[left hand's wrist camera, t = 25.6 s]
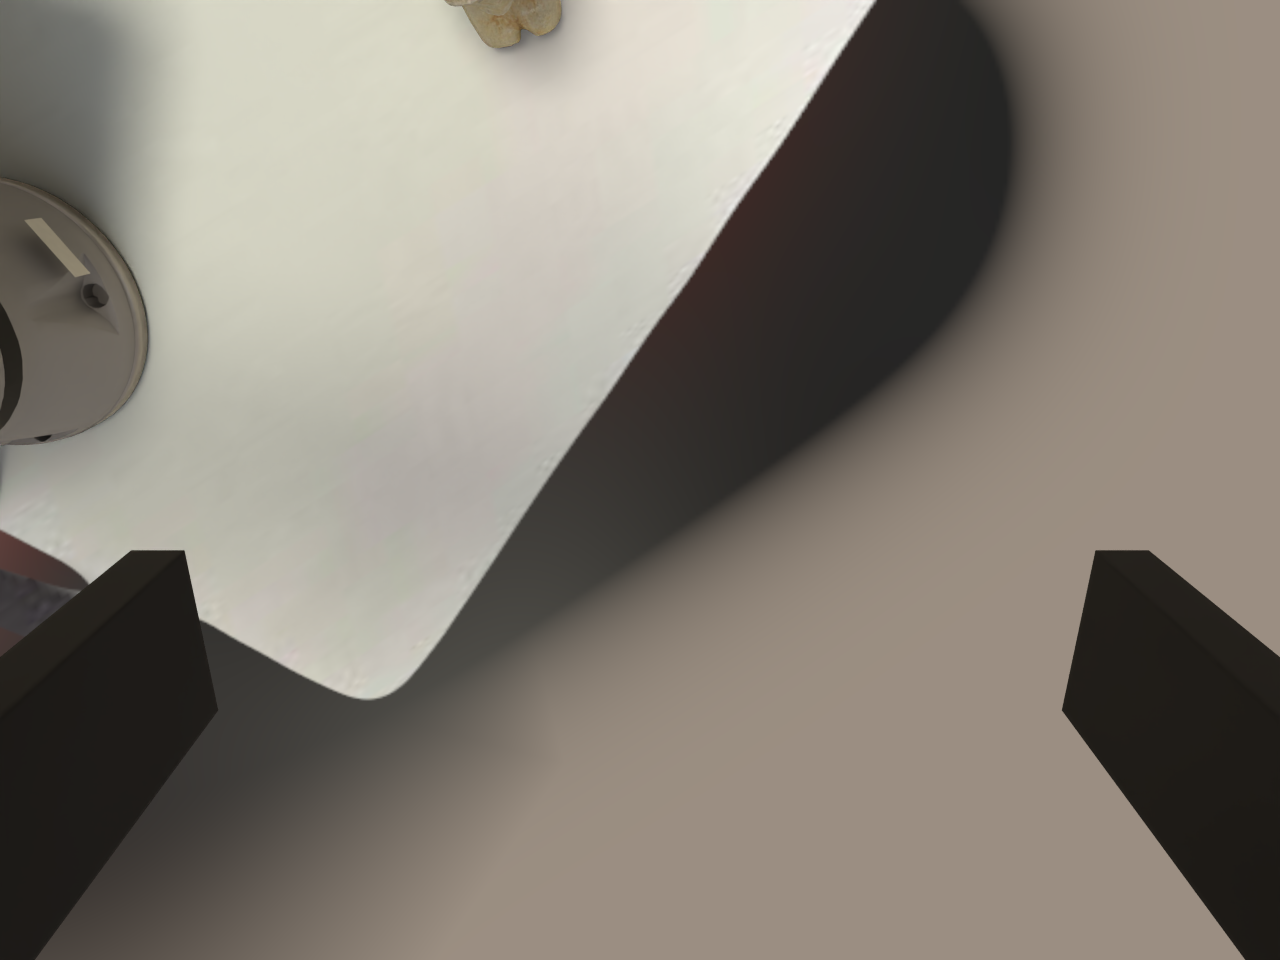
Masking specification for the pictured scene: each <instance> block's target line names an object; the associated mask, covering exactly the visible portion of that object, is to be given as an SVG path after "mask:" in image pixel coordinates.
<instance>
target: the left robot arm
mask: <svg viewBox="0 0 1280 960" xmlns="http://www.w3.org/2000/svg"><path fill="white" fill-rule="evenodd" d="M146 353H147V323H146V317H145V311H144V307H143V304H142V300H141V297H140V294H139V291H138V289H137V286H136V284H135V281H134V279H133V277H132V275H131V273H130V271H129V269H128V268H127V266H126V264H125V263H124V261H123V259H122V258H121V256H120V255H119V253H118V252H117V251H116V249H115V248H114V247H113V245H112V244H111V243H110V242H109V240H108V239H107V238H106V237H105V236H104V235H103V234H102V233H101V232H100V231H99V229H98V228H97V227H96V226H95V225H94V224H92V223H91V222H90V221H89V220H88V219H87V218H86V217H85V216H83V215H82V214H81V213H79V212H78V211H77V210H75V209H74V208H73V207H71V206H70V205H68V204H67V203H65V202H64V201H62V200H60V199H59V198H57V197H55V196H53V195H51V194H49V193H47V192H46V191H43V190H41V189H39V188H36V187H34V186H31V185H28V184H25V183H22V182H19V181H15V180H11V179H6V178H0V446H1V445H5V444H10V445H30V444H41V443H48V442H52V441H57V440H60V439H63V438H67V437H71V436H74V435H76V434H79V433H81V432H83V431H85V430H87V429H89V428H91V427H93V426H95V425H97V424H98V423H100V422H102V421H104V420H105V419H107V418H108V417H110V416H111V415H113V414H114V413H115V412H116V411H117V410H118V409H119V408H121V406H122V405H123V404H124V403H125V402H126V401H127V400H128V398H129V397H130V395H131V394H132V392H133V391H134V389H135V387H136V385H137V383H138V381H139V379H140V376H141V374H142V371H143V368H144V364H145V360H146ZM217 711H218V708H217V703H216V698H215V693H214V689H213V684H212V679H211V674H210V670H209V665H208V660H207V655H206V651H205V646H204V641H203V636H202V632H201V627H200V622H199V617H198V613H197V608H196V603H195V598H194V594H193V589H192V584H191V579H190V575H189V570H188V565H187V560H186V556H185V551H184V550H131V551H130V552H129V553H128V554H126V555H125V556H124V557H123V558H121V559H120V560H119V561H118V562H116V563H115V564H114V565H113V566H112V567H110V568H109V569H108V570H107V571H105V572H104V573H103V574H102V575H101V576H99V577H98V578H97V579H96V580H94V581H93V582H92V583H91V584H89V585H88V586H87V587H86V588H85V589H83V590H82V591H81V592H80V593H78V594H77V595H76V596H75V597H73V598H72V599H71V600H70V601H69V602H67V603H66V604H65V605H64V606H62V607H61V608H60V609H59V610H58V611H56V612H55V613H54V614H53V615H51V616H50V617H49V618H48V619H46V620H45V621H44V622H43V623H42V624H40V625H39V626H38V627H37V628H35V629H34V630H33V631H32V632H31V633H29V634H28V635H27V636H26V637H24V638H23V639H22V640H21V641H20V642H18V643H17V644H16V645H15V646H13V647H12V648H11V649H10V650H8V651H7V652H6V653H5V654H3V655H2V656H1V657H0V960H35V959H36V957H37V956H38V955H39V953H40V952H41V950H42V949H43V948H44V946H45V945H46V944H47V942H48V941H49V940H50V938H51V937H52V936H53V934H54V933H55V931H56V930H57V929H58V927H59V926H60V925H61V923H62V922H63V921H64V919H65V918H66V917H67V915H68V914H69V912H70V911H71V910H72V908H73V907H74V906H75V904H76V903H77V902H78V900H79V899H80V897H81V896H82V895H83V893H84V892H85V891H86V889H87V888H88V887H89V885H90V884H91V882H92V881H93V880H94V878H95V877H96V876H97V874H98V873H99V872H100V870H101V869H102V867H103V866H104V865H105V863H106V862H107V861H108V859H109V858H110V857H111V855H112V854H113V853H114V851H115V850H116V848H117V847H118V846H119V844H120V843H121V842H122V840H123V839H124V838H125V836H126V835H127V834H128V832H129V831H130V829H131V828H132V827H133V825H134V824H135V823H136V821H137V820H138V819H139V817H140V816H141V814H142V813H143V812H144V810H145V809H146V808H147V806H148V805H149V804H150V802H151V801H152V799H153V798H154V797H155V795H156V794H157V793H158V791H159V790H160V789H161V787H162V786H163V785H164V783H165V782H166V780H167V779H168V778H169V776H170V775H171V774H172V772H173V771H174V769H175V768H176V767H177V765H178V764H179V763H180V761H181V760H182V759H183V757H184V756H185V755H186V753H187V752H188V751H189V749H190V748H191V746H192V745H193V744H194V742H195V741H196V740H197V738H198V737H199V736H200V734H201V733H202V731H203V730H204V729H205V727H206V726H207V725H208V723H209V722H210V721H211V719H212V718H213V717H214V715H215V714H216V712H217ZM1062 711H1063V712H1064V714H1065V715H1066V716H1067V718H1068V719H1069V721H1070V722H1071V723H1072V725H1073V726H1074V727H1075V729H1076V730H1077V731H1078V733H1079V734H1080V735H1081V737H1082V738H1083V740H1084V741H1085V742H1086V744H1087V745H1088V746H1089V748H1090V749H1091V751H1092V752H1093V753H1094V755H1095V756H1096V757H1097V759H1098V760H1099V761H1100V763H1101V764H1102V765H1103V767H1104V768H1105V770H1106V771H1107V772H1108V774H1109V775H1110V776H1111V778H1112V779H1113V780H1114V782H1115V783H1116V785H1117V786H1118V787H1119V789H1120V790H1121V791H1122V793H1123V794H1124V795H1125V797H1126V798H1127V800H1128V801H1129V802H1130V804H1131V805H1132V806H1133V808H1134V809H1135V810H1136V812H1137V813H1138V814H1139V816H1140V817H1141V819H1142V820H1143V821H1144V823H1145V824H1146V825H1147V827H1148V828H1149V829H1150V831H1151V832H1152V833H1153V835H1154V836H1155V838H1156V839H1157V840H1158V842H1159V843H1160V844H1161V846H1162V847H1163V848H1164V850H1165V851H1166V853H1167V854H1168V855H1169V857H1170V858H1171V859H1172V861H1173V862H1174V863H1175V865H1176V866H1177V868H1178V869H1179V870H1180V872H1181V873H1182V874H1183V876H1184V877H1185V878H1186V880H1187V881H1188V882H1189V884H1190V885H1191V887H1192V888H1193V889H1194V891H1195V892H1196V893H1197V895H1198V896H1199V897H1200V899H1201V900H1202V901H1203V903H1204V904H1205V906H1206V907H1207V908H1208V910H1209V911H1210V912H1211V914H1212V915H1213V916H1214V918H1215V919H1216V921H1217V922H1218V923H1219V925H1220V926H1221V927H1222V929H1223V930H1224V931H1225V933H1226V934H1227V936H1228V937H1229V938H1230V940H1231V941H1232V942H1233V944H1234V945H1235V946H1236V948H1237V949H1238V951H1239V952H1240V953H1241V955H1242V956H1243V957H1244V959H1245V960H1280V657H1279V656H1278V655H1277V654H1275V653H1274V652H1273V651H1272V650H1270V649H1269V648H1268V647H1267V646H1265V645H1264V644H1263V643H1262V642H1260V641H1259V640H1258V639H1257V638H1256V637H1254V636H1253V635H1252V634H1251V633H1249V632H1248V631H1247V630H1246V629H1245V628H1243V627H1242V626H1241V625H1240V624H1238V623H1237V622H1236V621H1235V620H1234V619H1232V618H1231V617H1230V616H1229V615H1227V614H1226V613H1225V612H1224V611H1222V610H1221V609H1220V608H1219V607H1218V606H1216V605H1215V604H1214V603H1213V602H1211V601H1210V600H1209V599H1208V598H1206V597H1205V596H1204V595H1203V594H1202V593H1200V592H1199V591H1198V590H1197V589H1195V588H1194V587H1193V586H1192V585H1191V584H1189V583H1188V582H1187V581H1186V580H1184V579H1183V578H1182V577H1181V576H1179V575H1178V574H1177V573H1176V572H1175V571H1173V570H1172V569H1171V568H1170V567H1168V566H1167V565H1166V564H1165V563H1164V562H1162V561H1161V560H1160V559H1159V558H1157V557H1156V556H1155V555H1154V554H1152V553H1151V552H1150V551H1148V550H1096V551H1095V556H1094V560H1093V565H1092V570H1091V575H1090V579H1089V584H1088V589H1087V594H1086V599H1085V603H1084V608H1083V613H1082V617H1081V622H1080V627H1079V632H1078V636H1077V641H1076V646H1075V651H1074V655H1073V660H1072V665H1071V670H1070V674H1069V679H1068V684H1067V689H1066V693H1065V698H1064V703H1063V708H1062Z"/></svg>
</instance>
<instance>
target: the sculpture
mask: <svg viewBox="0 0 1280 960" xmlns="http://www.w3.org/2000/svg"><path fill="white" fill-rule="evenodd" d="M445 1H446V2H447V3H448V4H449V5H451V6H462V7H463V8H464V10H465V12H466V14H467V16H468V18H469V20H470V21H471V23H472V25H473V26H474V28H475V30H476V31H477V33H478V34H479V36H480V37H481V39H482V40H483V41H484V42H485V43H486V44H487V45H488V46H490V47H493V48H501V47H507V46H512V45H513V44H516V43H518V42H519V41H520V38H521V29H526V30H528V31H530V32H531V33H533V34H535V35H536V36H540V35H543V34H546V33H548V32H550V31H551V30H553V29H554V28H555V27H556V25H557V24H558V22H559V20H560V17H561V1H560V0H445Z"/></svg>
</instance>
